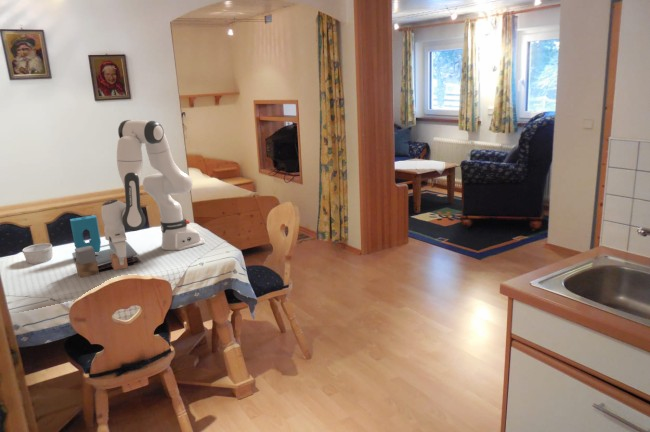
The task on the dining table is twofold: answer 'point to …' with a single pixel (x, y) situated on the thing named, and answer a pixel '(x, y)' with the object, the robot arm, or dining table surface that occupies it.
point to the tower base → (87, 269)
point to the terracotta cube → (117, 262)
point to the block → (92, 226)
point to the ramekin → (38, 253)
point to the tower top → (85, 255)
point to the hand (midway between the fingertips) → (119, 262)
